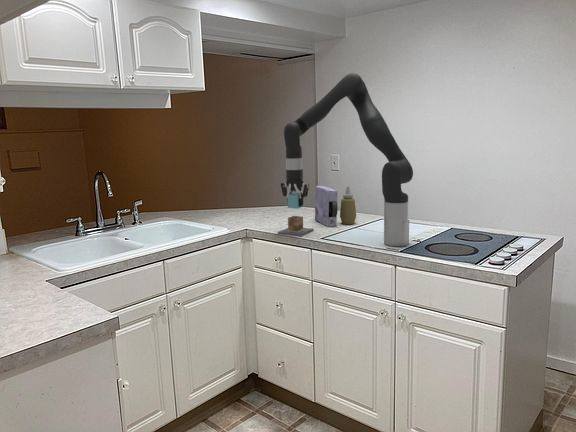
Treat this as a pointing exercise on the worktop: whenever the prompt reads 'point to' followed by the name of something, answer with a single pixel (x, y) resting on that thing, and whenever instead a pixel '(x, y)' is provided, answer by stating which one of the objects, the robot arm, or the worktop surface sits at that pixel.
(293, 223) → the walnut block
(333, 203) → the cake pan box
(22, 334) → the worktop surface
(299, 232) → the base board
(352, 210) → the squeeze bottle
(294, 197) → the teal block
